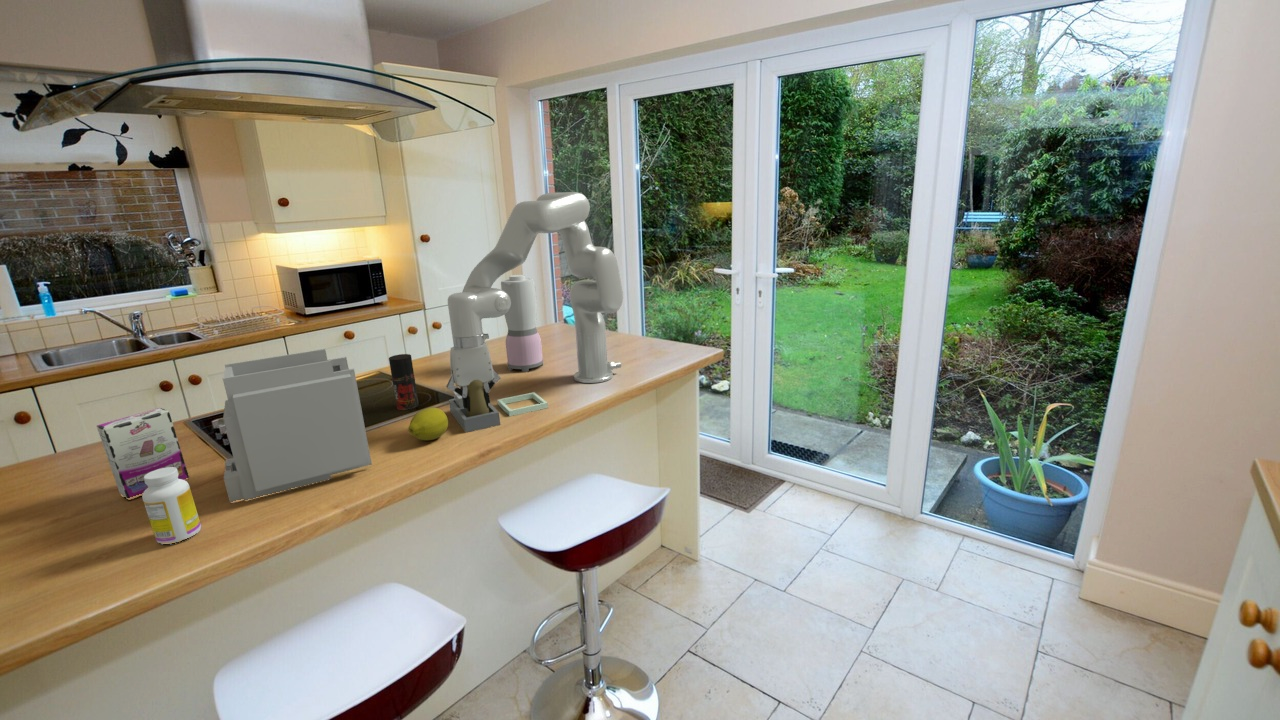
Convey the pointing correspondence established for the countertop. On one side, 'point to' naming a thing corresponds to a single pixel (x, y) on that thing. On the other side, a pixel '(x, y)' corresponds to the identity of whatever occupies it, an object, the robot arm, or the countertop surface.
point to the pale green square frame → (526, 409)
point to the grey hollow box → (474, 418)
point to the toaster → (291, 423)
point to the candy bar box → (141, 449)
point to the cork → (476, 399)
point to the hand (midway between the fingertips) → (477, 407)
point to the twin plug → (458, 400)
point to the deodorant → (403, 381)
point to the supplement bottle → (170, 506)
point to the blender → (522, 324)
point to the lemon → (428, 424)
